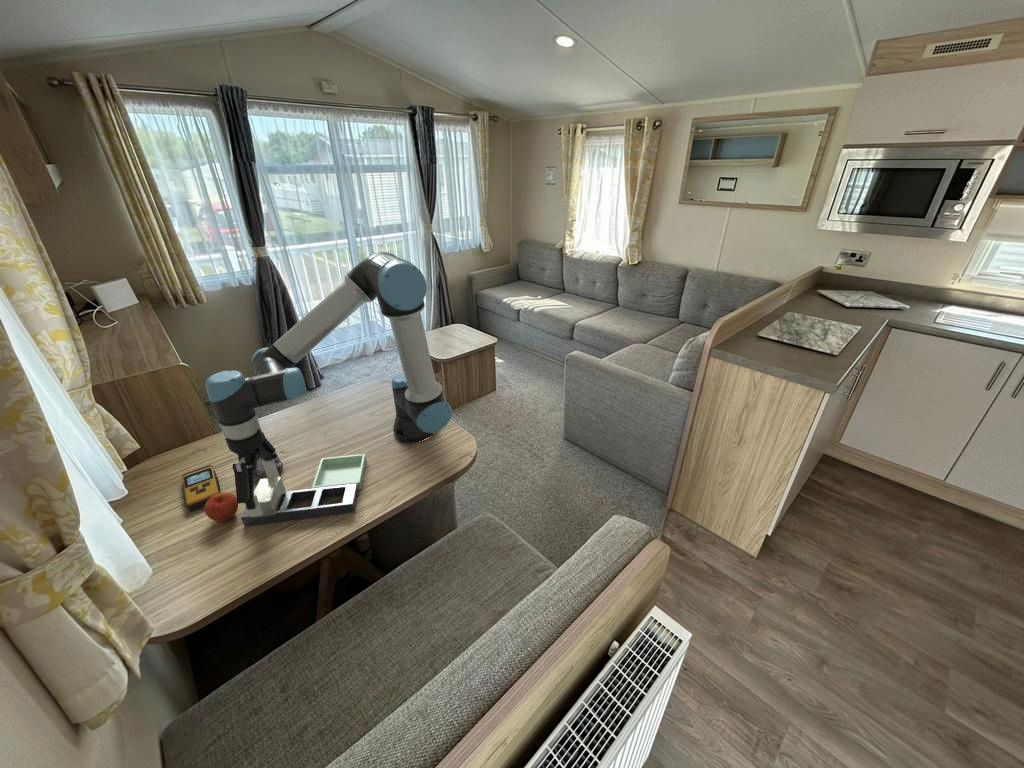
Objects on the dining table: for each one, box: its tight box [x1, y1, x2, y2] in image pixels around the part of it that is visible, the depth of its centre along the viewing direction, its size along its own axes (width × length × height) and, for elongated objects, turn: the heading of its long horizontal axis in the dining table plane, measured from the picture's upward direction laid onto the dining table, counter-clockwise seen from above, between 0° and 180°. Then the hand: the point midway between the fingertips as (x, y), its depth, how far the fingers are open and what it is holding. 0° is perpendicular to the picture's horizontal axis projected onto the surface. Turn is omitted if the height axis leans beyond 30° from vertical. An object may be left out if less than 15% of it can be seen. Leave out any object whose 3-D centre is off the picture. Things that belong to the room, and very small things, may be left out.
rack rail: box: [240, 483, 360, 528], centre depth 111 cm, size 28×8×4 cm, turn 101°
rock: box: [248, 451, 284, 479], centre depth 125 cm, size 8×11×5 cm
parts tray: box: [311, 453, 367, 491], centre depth 123 cm, size 13×13×3 cm
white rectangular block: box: [254, 476, 286, 517], centre depth 109 cm, size 5×9×8 cm, turn 11°
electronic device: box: [181, 464, 222, 512], centre depth 117 cm, size 8×16×3 cm, turn 39°
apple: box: [203, 491, 239, 522], centre depth 107 cm, size 7×7×8 cm
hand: (265, 496), depth 107 cm, fingers open, 13 cm apart
